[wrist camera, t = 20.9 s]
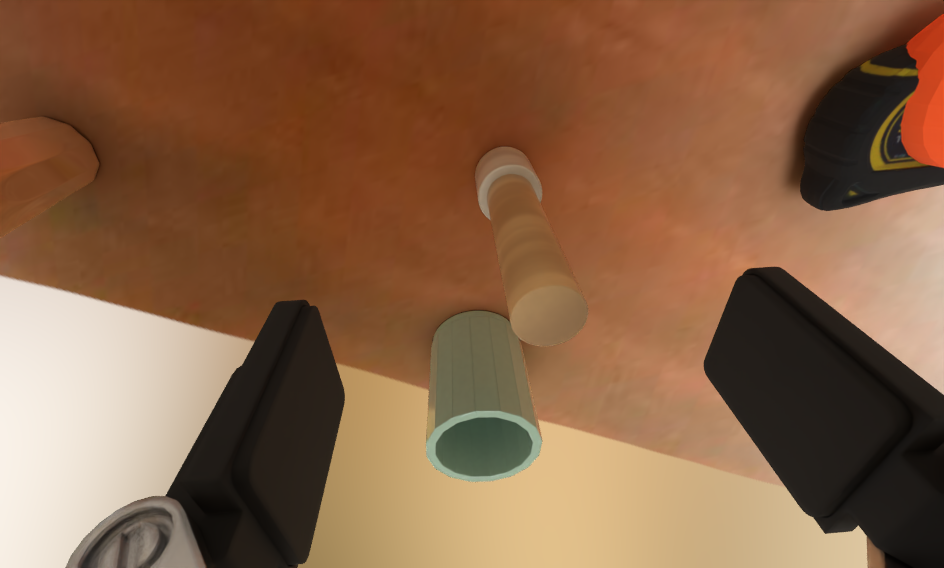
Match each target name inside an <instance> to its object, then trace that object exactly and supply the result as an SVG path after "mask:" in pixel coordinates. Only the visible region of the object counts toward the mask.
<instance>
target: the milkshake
mask: <svg viewBox="0 0 944 568" xmlns="http://www.w3.org/2000/svg"><path fill="white" fill-rule="evenodd" d="M99 164H100V163H99V161H98V159H97V157H96V155H95V152H94V150H93V148H92V146H91V143H90V142H89V141H88V140H86V139H85V138H84V137H83V136H82V135H80V134H79V133H78V132H77V131H76V130H75V129H73V128H72V127H71V126H70V125H69V124H66V123H62V122H59V121H56V120H53V119H50V118H47V117H43V116H41V117H34V118H28V119H21V120H15V121H9V122H3V123H0V239H1V238H2V237H4V236H5V235H7V234H8V233H10V232H11V231H13V230H14V229H16V228H18V227H19V226H21V225H22V224H24V223H26V222H27V221H29V220H30V219H32V218H34V217H35V216H37V215H39V214H40V213H42V212H43V211H45V210H47V209H48V208H50V207H52V206H53V205H55V204H56V203H58V202H60V201H61V200H63V199H64V198H66V197H68V196H69V195H71V194H73V193H74V192H76V191H77V190H79V189H81V188H82V187H84V186H85V185H87V184H89V183H90V182H92V181H93V180H94V179H95V176H96V173H97V170H98V167H99Z"/></svg>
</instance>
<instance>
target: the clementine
mask: <svg viewBox="0 0 944 568" xmlns="http://www.w3.org/2000/svg"><path fill="white" fill-rule="evenodd" d="M907 44H908V45H907V47H906V48H907V50H908V53H909V55H910V57H912V58H914V59H915V60H916V61H917V63H916V68H917V69H918V78H919V83H918V86H917V88H916V90H915V92H914V93H913V95H912V96H911V97H910V99H909V100H908V101H907V103H906V107H905V110H904V114H903V118H902V122H901V141H902V143H903V145H904V147H905V149H906V151H907V153H908V155H909V156H911V157H912V158H913V159H915V160H916V161H918V162H919V163H921V164H926V165H931V166H936V167H941V168H944V14H942V15H940V16H939V17H938V18H937V19H935V20H934V21H933V22H931V23H930V24H929V25H928V26H926V27H925V28H924V29H923V30H921V31H920V32H919V33H918V34H917V35H915V36H914V37H913V38H912V39H910V40H909V42H908V43H907Z"/></svg>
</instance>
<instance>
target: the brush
mask: <svg viewBox="0 0 944 568" xmlns="http://www.w3.org/2000/svg"><path fill="white" fill-rule="evenodd" d="M475 182H476V189H477V195H478V202H479V206H480V209H481V211H482V212H483V214H484V215H485V216H486V217H487V218H488V219H489V220H491V224H492V230H493V235H494V240H495V245H496V250H497V256H498V261H499V266H500V271H501V276H502V281H503V287H504V292H505V297H506V302H507V307H508V312H509V318H510V323H511V327H512V329H513V331H514V333H515V334H516V335H517V336H518V337H519V338H520V339H521V340H523V341H524V342H526V343H528V344H531V345H535V346H554V345H558V344H561V343H564V342H566V341H568V340H570V339H571V338H573V337H574V336H575V335H577V334H578V333H579V332H580V330H581V329H582V328H583V326H584V325H585V323H586V320H587V317H588V305H587V302H586V300H585V298H584V296H583V294H582V291H581V289H580V287H579V285H578V283H577V281H576V279H575V276H574V274H573V272H572V270H571V268H570V266H569V264H568V261H567V259H566V257H565V255H564V253H563V251H562V249H561V246H560V244H559V242H558V240H557V238H556V236H555V234H554V231H553V229H552V227H551V225H550V223H549V221H548V219H547V216H546V214H545V212H544V210H543V208H542V206H541V204H540V203H541V199H542V186H541V183H540V180H539V178H538V177H537V175H536V173H535V171H534V169H533V167H532V165H531V163H530V161H529V159H528V158H527V157H526V155H525V154H524V153H522V152H521V151H519V150H518V149H515V148H512V147H498V148H495V149H493V150H491V151H489V152H487V153H486V154H485V155H484V156H483V157H482V158H481V159H480V161H479V163H478V165H477V167H476V171H475Z"/></svg>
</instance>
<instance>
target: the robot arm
mask: <svg viewBox="0 0 944 568" xmlns="http://www.w3.org/2000/svg"><path fill="white" fill-rule="evenodd" d="M704 370H705V373H706V375H707V377H708V378H709V380H710V381H711V383H712V384H713V385H714V387H715V388H716V390H717V391H718V392H719V394H720V395H721V397H722V398H723V400H724V401H725V402H726V404H727V405H728V407H729V408H730V409H731V411H732V412H733V414H734V415H735V416H736V418H737V419H738V421H739V422H740V423H741V425H742V426H743V428H744V429H745V430H746V432H747V433H748V435H749V436H750V437H751V439H752V440H753V442H754V443H755V445H756V446H757V447H758V449H759V450H760V452H761V453H762V454H763V456H764V457H765V459H766V460H767V461H768V463H769V464H770V466H771V467H772V468H773V470H774V471H775V473H776V474H777V475H778V477H779V478H780V480H781V481H782V482H783V484H784V485H785V487H786V488H787V490H788V491H789V492H790V493H791V495H792V496H793V498H794V499H795V501H796V502H797V504H798V505H799V506H800V507H801V509H802V510H803V511H804V512H805V513H806V514H808V515H809V516H812V517H814V519H815V520H816V522H817V523H818V524H819V526H820V527H821V529H822V530H823V531H824V533H825V534H826V533H837V532H848V531H853V530H854V529H855V528H856V527H857V526H858V525H859V527H860V528H861V529H862V530H863V531H864V533H865V534H866V535H867V560H868V568H944V395H943V394H942V393H940V392H939V391H938V390H937V389H935V388H934V387H933V386H931V385H930V384H929V383H928V382H926V381H925V380H924V379H923V378H921V377H920V376H919V375H917V374H916V373H915V372H914V371H912V370H911V369H910V368H908V367H907V366H906V365H905V364H903V363H902V362H901V361H900V360H898V359H897V358H896V357H894V356H893V355H892V354H891V353H889V352H888V351H887V350H886V349H884V348H883V347H882V346H880V345H879V344H878V343H877V342H875V341H874V340H873V339H872V338H870V337H869V336H868V335H866V334H865V333H864V332H863V331H861V330H860V329H859V328H857V327H856V326H855V325H854V324H852V323H851V322H850V321H849V320H847V319H846V318H845V317H843V316H842V315H841V314H840V313H838V312H837V311H836V310H835V309H833V308H832V307H831V306H829V305H828V304H827V303H826V302H824V301H823V300H822V299H820V298H819V297H818V296H817V295H815V294H814V293H813V292H812V291H810V290H809V289H808V288H806V287H805V286H804V285H803V284H801V283H800V282H799V281H798V280H796V279H795V278H794V277H792V276H791V275H790V274H789V273H787V272H786V271H785V270H783V269H782V268H780V267H763V268H751V269H748V270H746V271H745V272H744V273H743V275H742V276H740V277H738V278H737V280H736V282H735V284H734V287H733V289H732V292H731V294H730V297H729V299H728V302H727V304H726V307H725V309H724V312H723V314H722V317H721V319H720V322H719V325H718V327H717V330H716V332H715V335H714V337H713V340H712V342H711V345H710V347H709V350H708V352H707V355H706V357H705V360H704ZM344 401H345V394H344V388H343V385H342V381H341V379H340V375H339V372H338V370H337V366H336V363H335V360H334V357H333V354H332V350H331V347H330V344H329V341H328V338H327V335H326V332H325V329H324V326H323V323H322V319H321V316H320V313H319V310H318V308H317V307H316V306H310V305H309V303H308V302H307V301H306V300H295V301H281V302H277V303H276V304H275V305H274V307H273V309H272V311H271V313H270V314H269V316H268V318H267V320H266V322H265V324H264V326H263V327H262V329H261V331H260V333H259V335H258V337H257V339H256V340H255V342H254V344H253V346H252V348H251V350H250V352H249V353H248V355H247V357H246V359H245V361H244V363H243V365H242V366H240V367H239V368H237V369H236V371H235V372H234V373H233V374H232V376H231V378H230V380H229V382H228V383H227V385H226V387H225V389H224V391H223V392H222V394H221V396H220V398H219V400H218V401H217V403H216V405H215V407H214V409H213V411H212V413H211V414H210V416H209V418H208V420H207V421H206V423H205V425H204V427H203V429H202V431H201V432H200V434H199V436H198V438H197V440H196V442H195V443H194V445H193V447H192V449H191V451H190V453H189V454H188V456H187V458H186V460H185V461H184V463H183V465H182V467H181V469H180V471H179V472H178V474H177V476H176V478H175V480H174V482H173V483H172V485H171V487H170V489H169V491H168V492H167V494H166V496H152V497H148V498H144V499H141V500H137V501H134V502H132V503H130V504H128V505H127V506H124V507H122V508H120V509H119V510H117V511H115V512H114V513H113V514H111V515H110V516H108V517H107V518H106V519H104V520H103V521H102V522H100V523H99V524H98V525H97V526H96V527H95V528H94V529H93V530H92V531H91V532H90V533H89V534H88V535H87V536H86V537H85V538H84V539H83V540H82V541H81V543H80V544H79V546H78V547H77V548H76V550H75V551H74V552H73V554H72V555H71V557H70V559H69V561H68V564H67V566H66V568H297V567H298V564H303V563H305V562H306V560H307V558H308V556H309V552H310V548H311V544H312V540H313V535H314V531H315V527H316V522H317V518H318V514H319V510H320V505H321V501H322V497H323V493H324V488H325V484H326V480H327V476H328V471H329V467H330V463H331V458H332V454H333V450H334V445H335V441H336V437H337V433H338V428H339V424H340V420H341V416H342V411H343V407H344Z"/></svg>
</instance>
